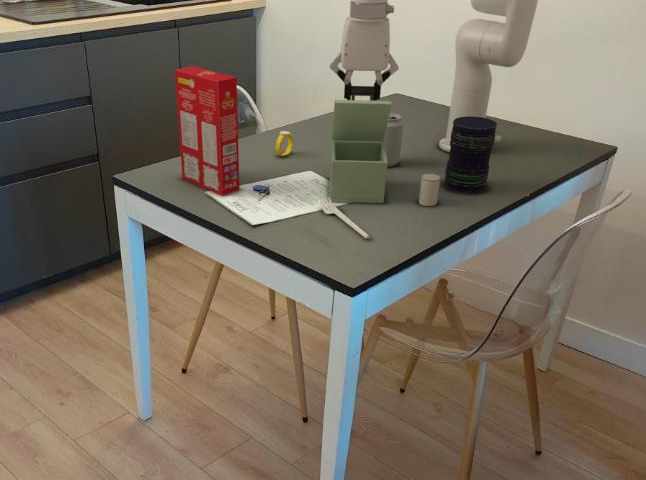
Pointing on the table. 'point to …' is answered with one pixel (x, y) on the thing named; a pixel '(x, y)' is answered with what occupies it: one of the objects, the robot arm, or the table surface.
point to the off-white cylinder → (429, 189)
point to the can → (393, 139)
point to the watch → (279, 140)
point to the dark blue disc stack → (469, 154)
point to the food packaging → (208, 129)
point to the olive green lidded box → (358, 172)
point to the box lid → (360, 117)
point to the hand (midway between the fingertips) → (361, 101)
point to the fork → (340, 215)
